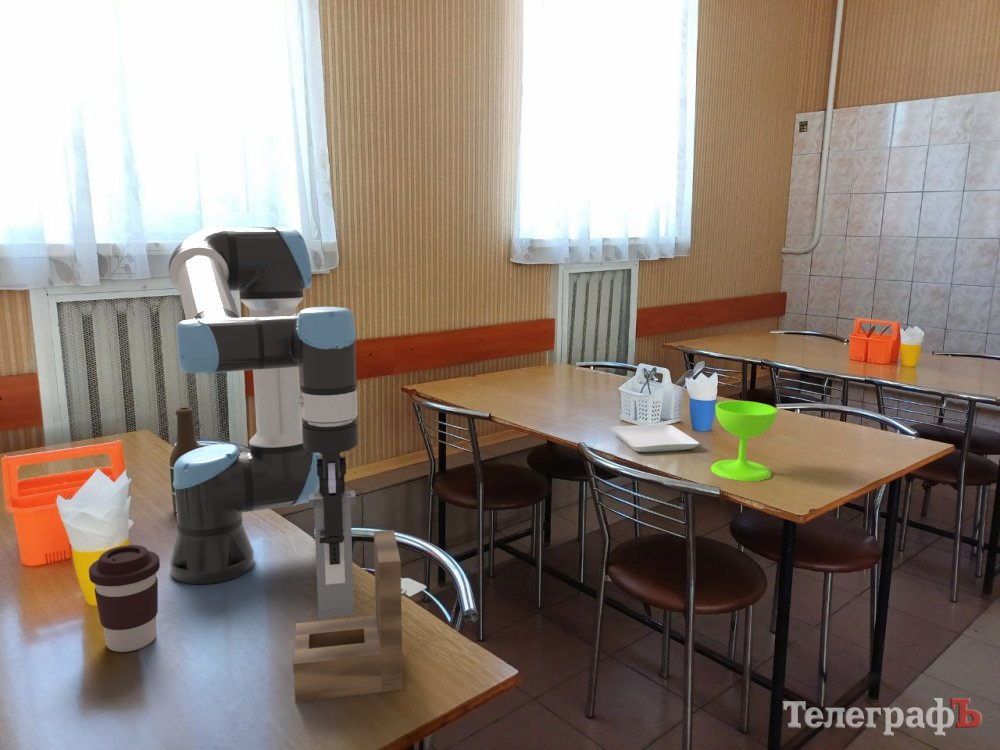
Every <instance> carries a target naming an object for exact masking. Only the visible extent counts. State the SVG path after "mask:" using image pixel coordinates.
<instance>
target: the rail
mask: <svg viewBox="0 0 1000 750" xmlns="http://www.w3.org/2000/svg"><path fill="white" fill-rule="evenodd" d="M356 498H357V497H356V490H345V492H344V493H343V494H342V522H343V535H344V562H345V583H338V584H327V585H326V579H325V552H324V543H320V541H319V540H320V538H323V537H324V536H325V527H324V502H323V495H321V494H320V492H317V493H310V494H309V502H308V508H309V509H312V508H313V511H314V514H313V515H314V535H315V536H314V537H315V560H316V563H315V564H316V566H315V567H316V587H317V589H316V592H317V613H318V614H317V615H318V619H322V618H323V619H326V618H335V617H336V618H337V617H345V616H353V615H355V609H354V607H355V605H354V602H355V601H354V575H353V574H354V573H353V572H354V571H353V569H354V568H353V542H352V540H353V539H352V538H353V537H352V509H351V508H352V506H354V505H356V504H357V502H356Z"/></svg>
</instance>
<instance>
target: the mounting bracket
mask: <svg viewBox="0 0 1000 750" xmlns="http://www.w3.org/2000/svg"><path fill="white" fill-rule="evenodd" d="M425 589H427V586H426V585H425V584H423V583H420V582H418V581H416V580H414V579H412V578H409V577H404V578H401V594H402V595H407V596H408V597H412V596H414V595H416V594H418V593H420V592H422V591H424V590H425Z"/></svg>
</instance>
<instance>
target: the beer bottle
mask: <svg viewBox="0 0 1000 750" xmlns="http://www.w3.org/2000/svg"><path fill="white" fill-rule="evenodd" d="M193 413H194V410H193V408H192V407H188V406H184V407H178V408H177V409H176V410H175V415H176V434H177V435H176V444H175V446H174V448H173V449H172V451H171V454H170V458H169V471H170V472H169V473H170V487H171V497H172V507H173V511H174V513H176V496H175V488H174V487H173V481H174V465H175V463H176V461H177V460H178V459H179V458H180V457H181V456H182V455H184V454H186V453H188V452H190V451H192V450H195V449H198V448H201V447H202V446H201V445H200V443H198V441H197V440H198V439H197V437H196V434H195V433H196V431H195V425H194V424H195V423H194V416H193Z"/></svg>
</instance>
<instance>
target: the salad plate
mask: <svg viewBox="0 0 1000 750" xmlns="http://www.w3.org/2000/svg"><path fill="white" fill-rule="evenodd" d="M609 429H610V431H611V432H612V433H613V434H614V436H616V437H618V438H619V439H620V440H621V441H623V443H625V444H627V446H629V447H630V448H631V449H633V450H634V451H635V452H637V453H655V452H656V453H658V452H659V453H660V452H671V451H672V452H675V451H685V450H686V451H687V450H691V449H694V448H696V447H698V446H699V445H700V442H699V441H697V440H696V439H694V438H693V437H692V436H690V435H688V434H687V433H685V432H683V431H682V430H680V429H678V428H677V427H675V426H674V425H672V424H645V425H644V424H640V425H636V424H635V425H621V426H619V425H618V426H609Z"/></svg>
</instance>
